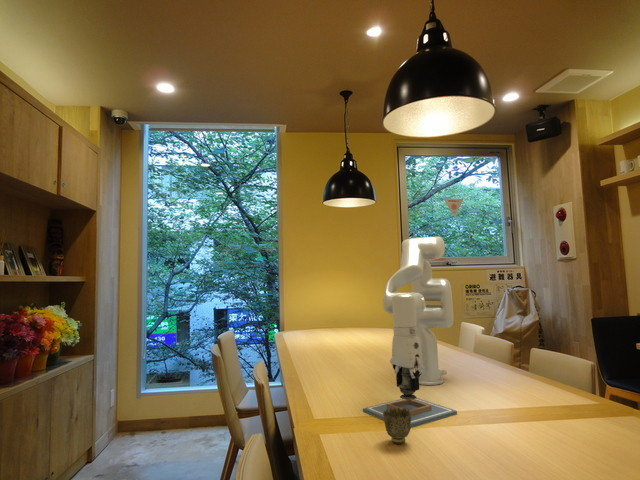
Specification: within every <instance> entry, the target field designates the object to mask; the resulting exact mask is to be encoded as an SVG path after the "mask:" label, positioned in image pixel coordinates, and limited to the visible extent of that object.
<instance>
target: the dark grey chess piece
mask: <svg viewBox="0 0 640 480" xmlns="http://www.w3.org/2000/svg"><path fill="white" fill-rule="evenodd" d="M401 374H402V379H403V381H402V384H400V385H399V387H398V388H399V391H400V393H402V394H401V395H400V396H399V399H406V400H411V399H416V398H418V397H417V396H416V395H415V394H416V393H415V392H416V391H411V385H410V378H412V377H411V374H410V370H409V369H408V368H404V367H402V373H401Z"/></svg>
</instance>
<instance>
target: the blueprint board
mask: <svg viewBox="0 0 640 480" xmlns="http://www.w3.org/2000/svg"><path fill="white" fill-rule="evenodd" d="M391 408H392V409H393V408H395V409H396V410H398V408H400V410H402V409H404V408H405V409H406V410H407V411H408V410H409V411H410V412H409V413H411V425H410V429H411V428H415V427H418V426H421V425H422V426H423V425H425V424H428V423H431V422H434V421H439V420H442V419H445V418H449V417H452V416H455V415H458V411H457V410H455V409H452V408H449V407H446V406H443V405H440V404H436V403H434V402H430V401H427V400H425V399H421V398H419V397H417V398H416V399H411V400H406V399H402V398H399V399H396V400H392V401H387V402H384V403H379V404H375V405H371V406H367V407H363V408H362V412H364V413H366V414H369V415H370V416H373V417H375V418H377V419H381V420H382V421H384V416H383V411H386V410H388V411H389V410H390V409H391Z"/></svg>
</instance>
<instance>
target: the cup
mask: <svg viewBox="0 0 640 480" xmlns="http://www.w3.org/2000/svg"><path fill="white" fill-rule="evenodd" d="M409 412H410V411H409V410H408V411H407V410H406V409H405V408H404V409H402V410H400V408H398V410H396V409H395V408H393V409H392V408H391V409H390V410H389V411H388V410H386V411H383V416H384V420H383V421H384V427H385V431H386V433H387V435H388V436H389V437H390V438H391V439H390V440H391V442H392V444H393V445H398V446H400V445H404V444H405V443H406V438H407V437H408V435H409V434H410V431H411V428H410V425H411V413H409Z"/></svg>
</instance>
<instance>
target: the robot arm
mask: <svg viewBox="0 0 640 480" xmlns="http://www.w3.org/2000/svg"><path fill="white" fill-rule="evenodd" d="M401 250H402V252H401V256H400V257H401V258H400V264H399V265H400V266H399V267H400V268H399V269H398V270H397V271H396V272H395V273H393V274H392V276H391V277H389V279H388V281H387V282H386V283H385V287H384V292H383V293H384V294H383V302H382V303H383V304H382V305H383V309H384V311H385V312H386V313H387V314H390V315H392V325H393V326H392V327H393V329H392V330H393V336H392V344H391V358H390V360H389V363H390V364H391V366H392V368H393V371H394V374H395V377H396V387H398V388H399V385H400V384H402V381H403V379H402V374H401V373H402V367H404V368H408V369H409V370H410V374H411V377H412V378H410V385H411V391H415V392H416V391H419V390H420V385H422V386H435V385H436V386H437V385H440V384H443V383H444V378H443V377H441V376H442V375H446V374H447V370H446V369H440V368H439V353H438V338H437V337H436V335H435V333H434V332H433V331H432V330H431V329H434V328H435V329H437V328H438V329H447V328H448V329H449V328H451V327H452V326H453V324H454V320H455V319H454V317H455V316H454V305H453V304H454V303H453V293H452V285H451V283H450V281H449V280H448V279H447V278H443V277H442V278H441V277H440V278H439V277H438V278H435V277H434V278H433V271H432V268H433V267H432V265H431V263H430V262H429V261H428V260H438V259H439V260H440V259H441V258H442V257H443V256H444V254H445V251H446V244H445V241H444V239H443V237H442V236H426V237H423V236H422V237H411V238H407V239H404V240H403V241H402V242H401ZM408 284H411V291H412V292H396V291H397V290H399V289H401V287H404V286H406V285H408ZM426 302H439V303H441V304H427V303H426Z"/></svg>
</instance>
